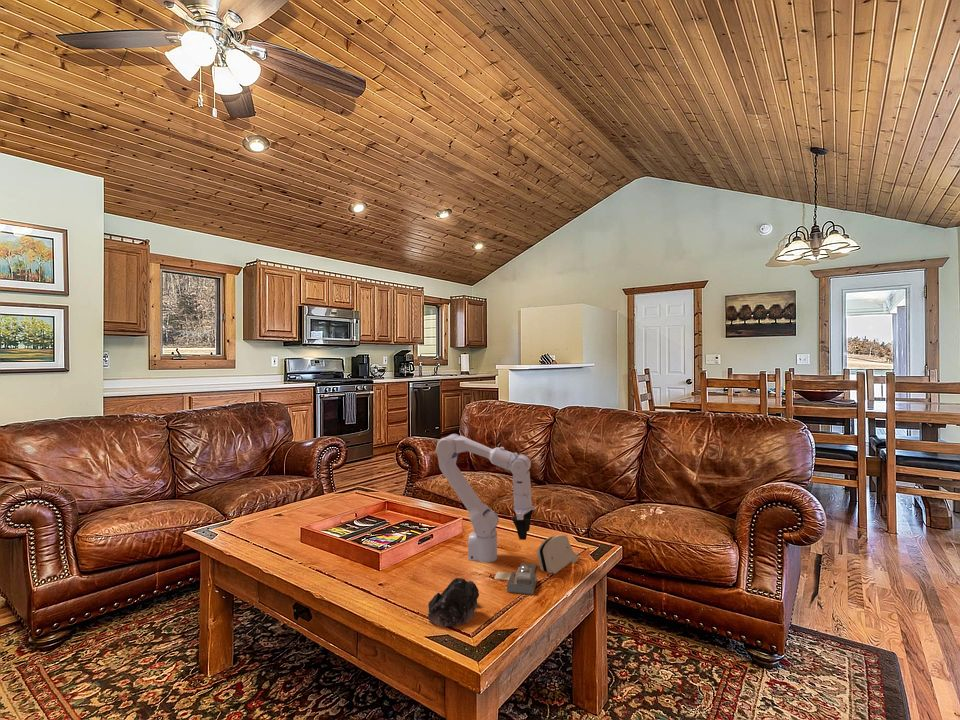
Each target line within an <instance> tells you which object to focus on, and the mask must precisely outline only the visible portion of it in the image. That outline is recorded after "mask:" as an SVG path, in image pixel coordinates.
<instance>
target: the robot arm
mask: <svg viewBox="0 0 960 720" xmlns="http://www.w3.org/2000/svg"><path fill="white" fill-rule="evenodd" d="M434 452H435V454H437V456H436V457H437V461H438V463H437V464H438V468H439V470H440V472H441V473H442V475H443V476H444V477H445V479H446V481H447V482H448V483H449V485H450V486H451V488H452V489H453V490H454V493H455V494H456V495H457V497H458V499H460V501H461V502H462V504H463V505H464V507H465V508H466V511H468V514H469V521H470V523H471V524H472V529H473V532H470V533H469V536H468V540H467V541H468V542H467V548H468V550H467V555H468V556H467V560H468V561H474V562H480V563H493V562H495V561H496V560H497V559H498V532H497V529H496V528H497V526H498V524H499V522H500V521H499V516H498V514H497V513H496V511H494V510H492V509H491V508H490V507H489V505H487V504H485V503H483V502H482V500H481V499H480V497H479V496H478V495H477V493H476V492H475V491H474V489H473V487H472V486H471V485H470V482H469V481H468V480H467V479H466V477H465V476H464V474H463V473H462V472H461V469H460V468H459V467H458V465H457V461H458V456H459V454H460V453H464V452H468V453H471V454H474V455H477V456H479V457H483V458H487V459H488V460H489V461H490V463H491V464H492V465H495V466H496V467H499V468H501V469H505V470H506V471H510V472H511V474H512V489H513V490H512V491H513V511H514V512H515V514H516V516H512V518H511V521H512V523H513V524H514V526H515V529H516V532H517V533H516V534H517V536H518V539H519V540H522V541H526V540H527V535H528V532H529V531H530V528H531V527H530V526H531V519H532V515H533V512H534V511H535V510H536V506H535V505H532V487H531V473H530V470H531V469H530V468H531V467H532V461H531V459H530V458H529V456H527V455H525V453H524V454H523V453H520V454H518V452H515V451H514V452H511V451H510V450H509V451H508V450H507V449H505V447H504V446H500V447H498V446H497V447H495V448H490V447H488V446H486V445H485V444H482V443H479V442H477V441H475V440H473V439H470V438H468V437H466V436H464V435H459V434H457V433H451V434H449V435H448V436H445V437H442V438H440V439H439V440H438V441H437V444H436V447H435V451H434Z"/></svg>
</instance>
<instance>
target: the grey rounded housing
mask: <svg viewBox="0 0 960 720" xmlns="http://www.w3.org/2000/svg"><path fill="white" fill-rule="evenodd" d="M536 555H537V559H538V564H539V568H540V570H541V571H543V572H547V573H549V574H553V575H556V574H557V573H558V572H559V571H560V570H562V569H564V567H566V566H567V565H569V564H570V563H571V565H573V564H575V563H576V562H577V561H579V557H578V554H577V553H576V552H574V551H573V548H572V546H571V543H570V540H569V538H568V536H567V535H561V534H559V535H554V536H550V537H547V538H546V539H545V540H544V541H542V542H541V543H540V545H539V547H538V548H537V550H536Z"/></svg>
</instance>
